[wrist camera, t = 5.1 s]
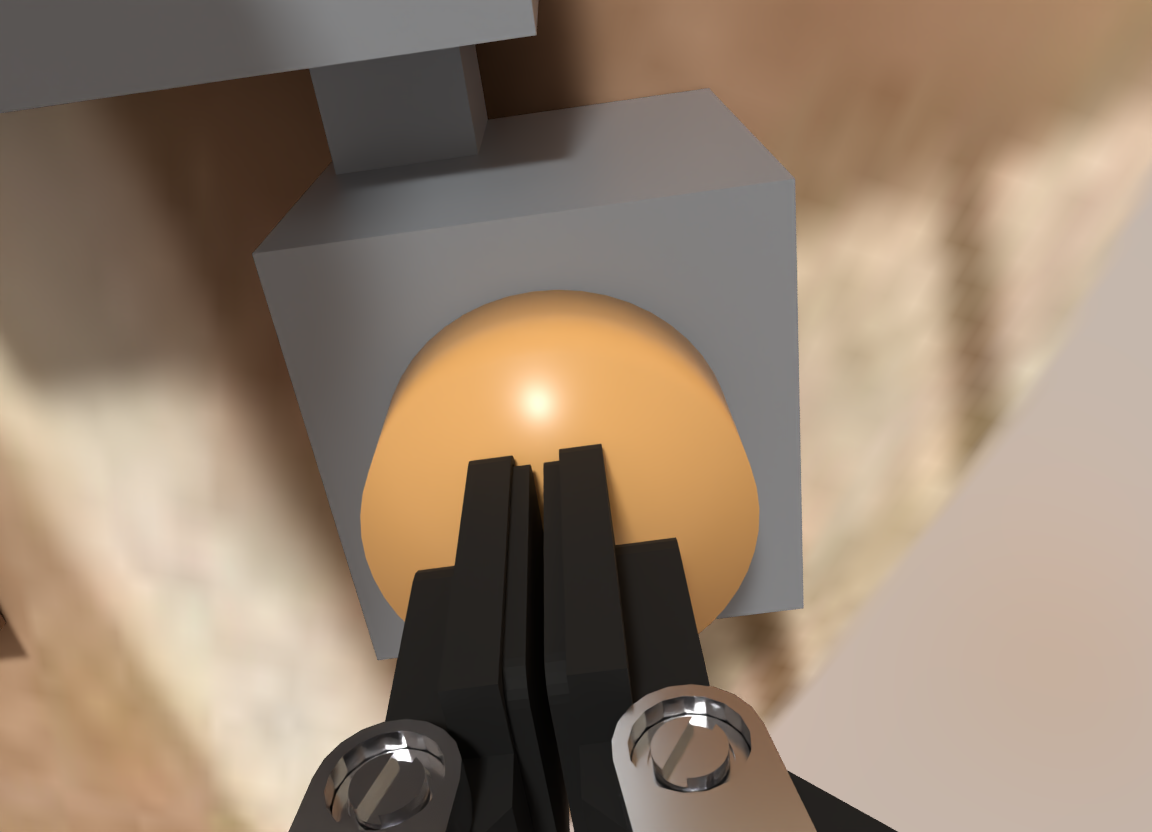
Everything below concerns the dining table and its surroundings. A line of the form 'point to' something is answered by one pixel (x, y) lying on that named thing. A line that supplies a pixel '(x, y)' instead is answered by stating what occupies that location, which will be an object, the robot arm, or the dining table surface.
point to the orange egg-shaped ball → (563, 437)
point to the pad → (1, 622)
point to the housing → (468, 218)
